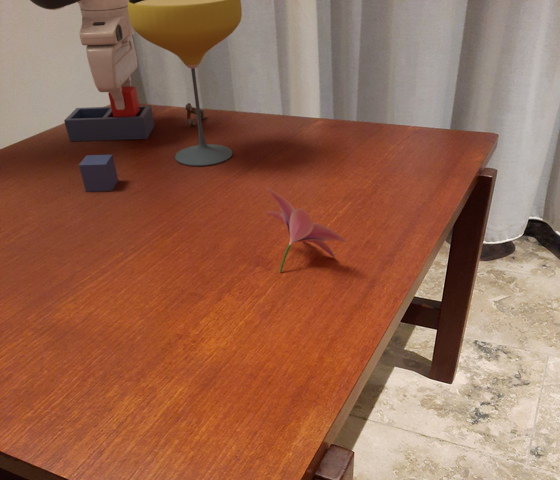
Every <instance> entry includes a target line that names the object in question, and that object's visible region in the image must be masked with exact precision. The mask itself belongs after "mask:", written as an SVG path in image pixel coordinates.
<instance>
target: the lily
mask: <svg viewBox="0 0 560 480" xmlns="http://www.w3.org/2000/svg"><path fill="white" fill-rule="evenodd" d="M264 189H265V190H266V192H268V194H269V195H270V196H271V197H272V198H273V200H274V201H275V203H276V204H277V206H278V208H279V210H280V212H279V211H275V210H269V211H266V214H268V215H269V216H271V217H273V218H275V219H277V220H279V221H280V222H282V223H283V224H285V226H286V228H287V232H288V235H289V243H288V245H287V247H286V249H285V251H284V254H283V258H282V260H281V265H280V268H279V273H283V268H284V265H285V262H286V258H287V255H288V253H289V250H290V248H291V247H292V245H293V244H295V243H300V242H302V243H303V242H304V243H305V242H306V243H313V244H316V245H317V246H318V247H320V248H321V249H322V250H324V251H325V252H326V253H328V255H330V256H331V257H332V258H334V259H336V255H335V254H334V252H333V250H332V249H331V248H330V246H329V245H328V244H327V243H326V242H329V241H330V242H331V241H336V242H341V243H348V240H347V239H346V238H344V237H343V236H342V235H341V234H340V233H338V232H337V231H335V230H333V229H332V228H330V227H329V226H326V225H324V224H321V223H318V222H313V219H312V217H311V215H310V214H309V213H308V211H307V210H305V209H304V208H301V207H299V208H295V207H294V206H293V205H292V203H290V202H289V200H287V199H286V198H285V197H283V196H282V195H281V194H279V193H278V192H276V191H274V190H273V189H271V188H269V187H268V186H264Z"/></svg>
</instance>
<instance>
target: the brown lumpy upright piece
mask: <svg viewBox="0 0 560 480" xmlns="http://www.w3.org/2000/svg"><path fill="white" fill-rule="evenodd" d="M185 110H186V127H187V128H190V127H191V126H196V120H194V119H191V116H192V115H195V118H196V119H197V112H196V107H193V105H192V104H191V103H189V102H188V103H186V104H185ZM200 114H201V120H202V119H203V120H204V119H205V109H202V108H200Z"/></svg>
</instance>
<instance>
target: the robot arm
mask: <svg viewBox="0 0 560 480" xmlns="http://www.w3.org/2000/svg"><path fill="white" fill-rule="evenodd" d="M128 1H129V0H29V2H32V4H34V5H36V6H38V7H40V8H42V9H45V10H49V11H57V10H60V9H64V8H65V7H67V6H71V5H73V4H76V3H77V4H78V5H79V9H80V15H81V27H80V30H79V40H80V43H81V45H82V46H85V51H86V52H85V53H86V57H87V62H88V65H89V69H90V72H91V76H92V81H93V83H94V86H95V87H96V89H97V91H98V92H99V93H109V92H110V94H111V96H112V98H113V100H114V103H115V107H116V109H117V110H123V109H124V108H125V107H126V103H125V98H123V95H122V87H132V76H131V75H132V74H133V73H134V72H135V71H136V70H137V69H138V58H137V51H136V47H135V44H134V40H133V35H135V30H134V29H133V27H132V25H131V22H130V19H129V13H128Z"/></svg>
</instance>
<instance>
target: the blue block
mask: <svg viewBox="0 0 560 480" xmlns="http://www.w3.org/2000/svg"><path fill="white" fill-rule="evenodd" d="M78 168H79V171H80V176H81V179H82V183H83V186H84V189H85V192H86V193H87V192H88V193H89V192H112V191H113V190H114V189H115V187H116V185H117V184H118V183H119V177H118V173H117V169H116V164H115V159H114V156H113V154H87V155H85V157H84V158H83V159H82V161H81V162H80V163H79V164H78Z"/></svg>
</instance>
